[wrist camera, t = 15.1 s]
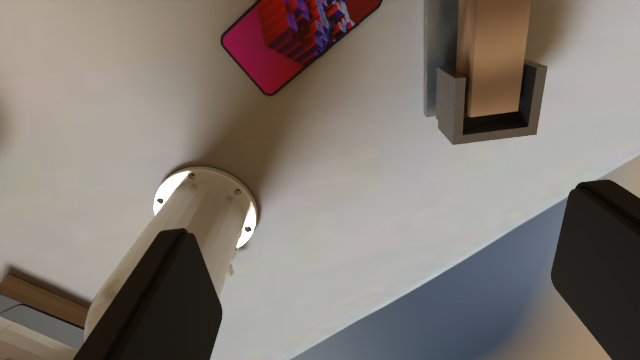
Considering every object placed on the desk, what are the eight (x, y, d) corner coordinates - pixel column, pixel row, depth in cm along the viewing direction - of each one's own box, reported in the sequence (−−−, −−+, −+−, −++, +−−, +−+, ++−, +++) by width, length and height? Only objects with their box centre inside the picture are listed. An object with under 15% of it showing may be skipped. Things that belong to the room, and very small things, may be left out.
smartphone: (215, 39, 35) (336, -78, 30) (218, 38, 35) (336, -76, 31) (268, 100, 37) (386, 2, 33) (269, 98, 38) (385, 1, 34)
